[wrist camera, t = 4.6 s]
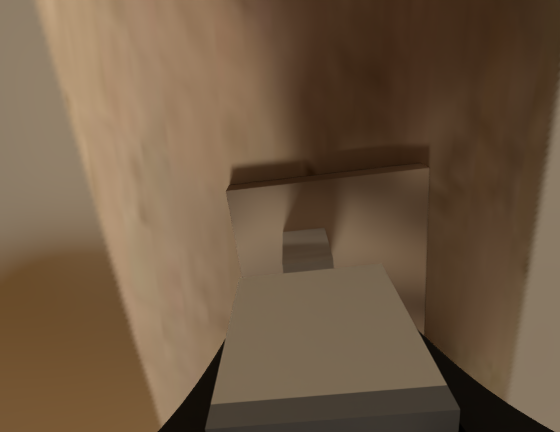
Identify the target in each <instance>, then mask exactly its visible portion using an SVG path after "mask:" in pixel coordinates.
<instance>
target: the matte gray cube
mask: <svg viewBox="0 0 560 432" xmlns="http://www.w3.org/2000/svg"><path fill="white" fill-rule="evenodd" d="M459 420H460V408H459V406H458V404H457V402H456V401H455V399H454V397H453V395H452V393H451V391H450V389H449V388H448V386H447V384H446V382H445V380H444V378H443V376H442V375H441V373H440V371H439V369H438V367H437V365H436V363H435V362H434V360H433V358H432V356H431V354H430V352H429V350H428V349H427V347H426V345H425V343H424V341H423V339H422V338H421V336H420V334H419V332H418V330H417V328H416V326H415V325H414V323H413V321H412V319H411V317H410V315H409V313H408V312H407V310H406V308H405V306H404V304H403V302H402V300H401V299H400V297H399V295H398V293H397V291H396V289H395V288H394V286H393V284H392V282H391V280H390V278H389V276H388V275H387V273H386V271H385V269H384V267H383V265H382V264H373V265H363V266H353V267H343V268H333V269H323V270H313V271H303V272H293V273H283V274H273V275H264V276H254V277H244V278H239V282H238V287H237V291H236V295H235V300H234V304H233V309H232V313H231V317H230V322H229V326H228V331H227V335H226V339H225V344H224V348H223V352H222V357H221V361H220V366H219V370H218V374H217V379H216V383H215V388H214V392H213V396H212V401H211V405H210V409H209V414H208V418H207V423H206V427H205V431H206V432H458V431H459Z"/></svg>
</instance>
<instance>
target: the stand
mask: <svg viewBox="0 0 560 432" xmlns="http://www.w3.org/2000/svg"><path fill="white" fill-rule="evenodd" d="M226 194H227V200H228V205H229V210H230V216H231V221H232V227H233V232H234V238H235V243H236V248H237V254H238V259H239V265H240V270H241V275H242V278H244V277H254V276H264V275H273V274H283V273H293V272H303V271H313V270H323V269H333V268H343V267H353V266H363V265H373V264H382V265H383V267H384V269H385V271H386V273H387V275H388V276H389V278H390V280H391V282H392V284H393V286H394V288H395V289H396V291H397V293H398V295H399V297H400V299H401V300H402V302H403V304H404V306H405V308H406V310H407V312H408V313H409V315H410V317H411V319H412V321H413V323H414V325H415V326H416V328H417V329H418V330H419V331H420V332H421V333H422V334H423V335H424V323H425V292H426V261H427V230H428V199H429V167H427V166H426V165H424V164H422V163H417V164H408V165H399V166H391V167H382V168H373V169H365V170H356V171H347V172H339V173H330V174H321V175H313V176H304V177H295V178H287V179H278V180H269V181H261V182H252V183H243V184H234V185H229V186H228V188H227V190H226Z"/></svg>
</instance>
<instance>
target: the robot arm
mask: <svg viewBox="0 0 560 432" xmlns="http://www.w3.org/2000/svg"><path fill="white" fill-rule="evenodd" d="M417 330H418V329H417ZM418 332H419V334H420V336H421V338H422V339H423V341H424V343H425V345H426V347H427V349H428V350H429V352H430V354H431V356H432V358H433V360H434V362H435V363H436V365H437V367H438V369H439V371H440V373H441V375H442V376H443V378H444V380H445V382H446V384H447V386H448V388H449V389H450V391H451V393H452V395H453V397H454V399H455V401H456V402H457V404H458V406H459V408H460V420H459V431H458V432H554V431H552V430H550V429H549V428H547V427H545V426H543V425H542V424H540V423H538V422H537V421H535V420H533V419H532V418H530V417H528V416H527V415H525V414H524V413H522V412H520V411H519V410H517V409H515V408H514V407H512V406H511V405H509V404H508V403H506V402H505V401H503V400H502V399H500V398H499V397H498V396H496V395H495V394H493V393H492V392H490V391H489V390H487V389H486V388H485V387H483V386H482V385H481V384H479V383H478V382H477V381H476V380H474V379H473V378H472V377H470V376H469V375H468V374H467V373H465V372H464V371H463V370H462V369H461V368H459V367H458V366H457V365H456V364H455V363H454V362H452V361H451V360H450V359H449V358H448V357H447V356H446V355H444V354H443V353H442V352H441V351H440V350H439V349H438V348H437V347H436V346H434V345H433V344H432V343H431V342H430V341H429V340H428V339H427V338H426V337H425V336H424V335H423V334H422V333H421V332H420V331H419V330H418ZM224 344H225V340H224V342H223V344H222V345H221V347H220V349H219V350H218V352H217V354H216V355H215V357H214V358H213V360H212V362H211V363H210V365H209V366H208V368H207V369H206V371H205V372H204V374H203V375H202V377H201V378H200V380H199V381H198V383H197V384H196V385H195V387H194V388H193V389H192V391H191V392H190V393H189V395H188V396H187V397H186V399H185V400H184V401H183V403H182V404H181V405H180V407H179V408H178V409H177V410H176V411H175V413H174V414H173V415H172V416H171V417H170V419H169V420H168V421H167V422H166V423H165V424H164V425H163V426H162V428H161V429H160V430H159V431H158V432H206V431H205V427H206V423H207V418H208V414H209V409H210V405H211V401H212V396H213V392H214V388H215V383H216V379H217V374H218V370H219V366H220V361H221V357H222V352H223V348H224Z"/></svg>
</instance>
